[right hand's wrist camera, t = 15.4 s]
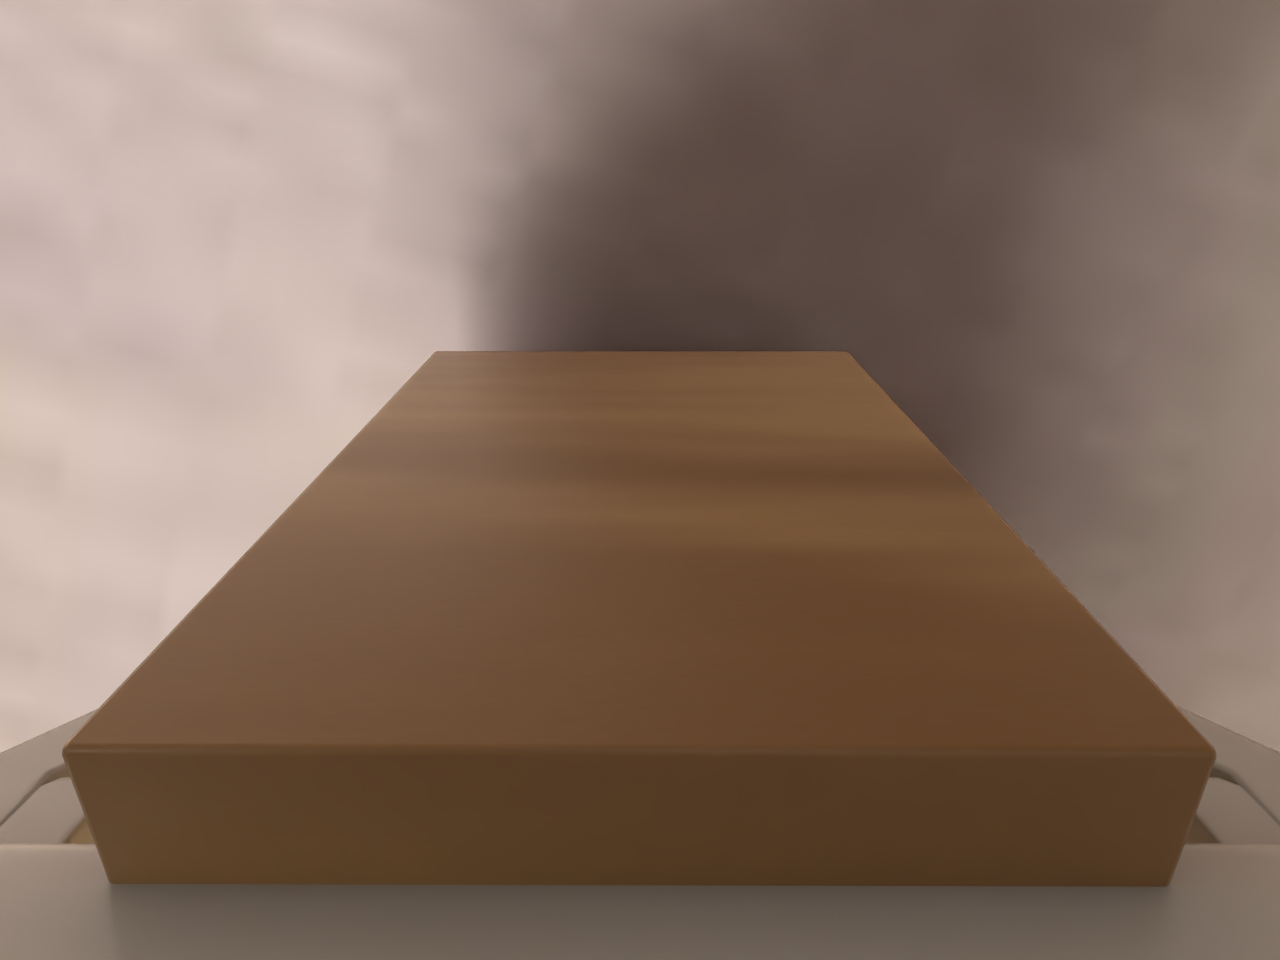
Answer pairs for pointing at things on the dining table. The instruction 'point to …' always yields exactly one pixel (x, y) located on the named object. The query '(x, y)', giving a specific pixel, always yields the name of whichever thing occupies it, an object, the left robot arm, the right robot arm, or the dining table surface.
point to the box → (640, 658)
